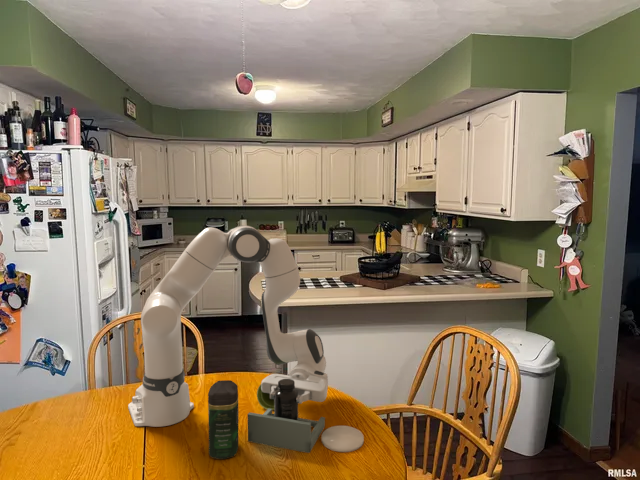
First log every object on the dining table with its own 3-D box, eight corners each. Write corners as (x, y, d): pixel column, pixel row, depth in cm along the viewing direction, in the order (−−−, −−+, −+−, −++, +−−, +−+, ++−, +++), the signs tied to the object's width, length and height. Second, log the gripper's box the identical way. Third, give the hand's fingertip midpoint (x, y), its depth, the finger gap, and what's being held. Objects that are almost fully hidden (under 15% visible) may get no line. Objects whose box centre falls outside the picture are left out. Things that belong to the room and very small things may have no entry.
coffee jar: (237, 459, 116) (236, 392, 114) (207, 461, 115) (205, 393, 113) (240, 439, 125) (239, 376, 124) (211, 441, 125) (210, 378, 123)
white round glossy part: (312, 439, 126) (312, 435, 126) (342, 424, 134) (342, 421, 134) (342, 457, 117) (342, 453, 117) (372, 440, 125) (372, 437, 125)
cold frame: (268, 417, 138) (268, 392, 137) (324, 426, 133) (324, 401, 132) (247, 441, 125) (247, 414, 124) (309, 453, 119) (309, 424, 118)
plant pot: (288, 408, 150) (277, 415, 141) (264, 396, 153) (252, 402, 145) (296, 382, 150) (287, 387, 141) (273, 371, 153) (262, 375, 145)
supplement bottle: (301, 419, 130) (302, 379, 129) (290, 430, 124) (291, 388, 122) (281, 413, 133) (282, 375, 132) (269, 424, 127) (270, 384, 125)
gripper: (271, 365, 143) (252, 382, 129) (332, 374, 136) (318, 393, 123) (271, 384, 143) (252, 403, 130) (331, 394, 137) (318, 415, 124)
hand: (285, 398), depth 127 cm, fingers closed on supplement bottle, 7 cm apart
